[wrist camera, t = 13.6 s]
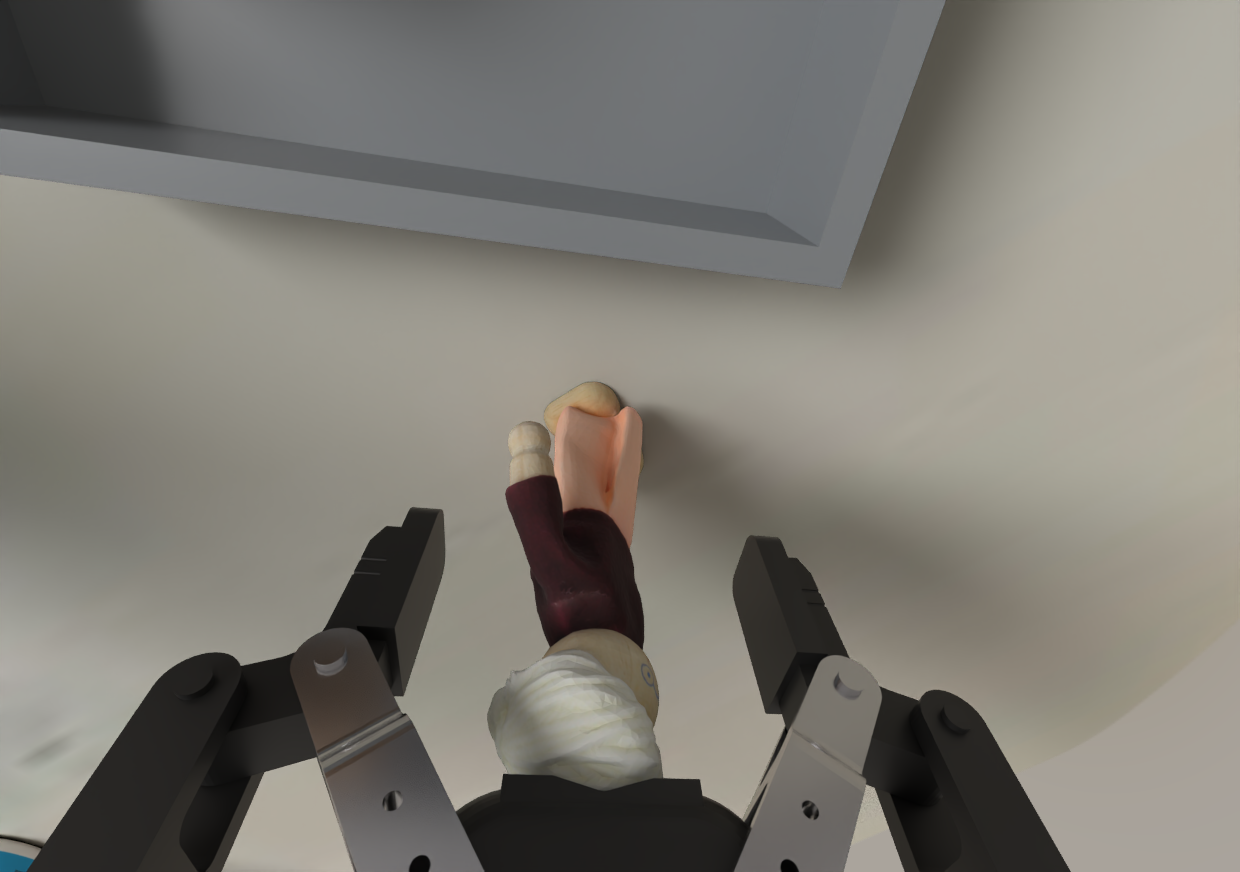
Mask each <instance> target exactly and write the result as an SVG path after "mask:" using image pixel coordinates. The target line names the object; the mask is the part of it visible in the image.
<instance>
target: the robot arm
mask: <svg viewBox="0 0 1240 872" xmlns="http://www.w3.org/2000/svg"><path fill="white" fill-rule="evenodd" d="M444 564H445V535H444V514H443V510H441V509H429V508H417V507H412V508H410V510H409V512H408V514H407V516H406V518H405V520H404V523H403V525H402V527H392V526H386V527H385V528H384V529H382V530H381V531H380V532H379V533H378V534H377V535H376V536H374V537H373V538H372V539H371V540H370V541H369V543H368V545H367V547H366V549H365V551H364V553H363V555H362V557H361V560H360V561H359V563H358V565H357V567H356V569H355V571H354V574H352V576H351V578H350V580H349V582H348V584H347V586H346V588H345V590H344V592H343V594H342V596H341V598H340V600H339V602H338V604H337V606H336V608H335V610H334V612H333V613H332V615H331V617H330V619H329V621H328V623H327V625H326V627H325V628H324V630H323V631H322V632H320V633H318V634H316V635H314V636H313V637H311V638H310V639H308V640H307V641H306V642H304V643H303V644H302V645H301V646H300V647H299V648H298V650H297V651H296V652H295V653H292V654H290V655H287V656H284V657H280V658H276V659H272V660H267V661H262V662H258V663H253V664H249V665H244V666H240V664H239V662H238V661H237V659H235V658H234V657H233V656H231V655H229V654H225V653H218V652H214V653H205V654H201V655H197V656H194V657H191V658H189V659H186V660H184V661H182V662H181V663H179V664H177V665H175V666H174V667H172V668H171V669H169V670H168V671H167V672H166V673H164V674H163V675H162V676H161V677H160V678H159V679H158V680H157V682H156V683H155V684H154V685H153V687H152V688H151V690H150V691H149V693H148V694H147V696H146V697H145V698H144V700H143V701H142V703H141V704H140V706H139V707H138V709H137V710H136V712H135V713H134V715H133V716H132V717H131V719H130V720H129V722H128V723H127V725H126V726H125V728H124V729H123V731H122V732H121V734H120V735H119V737H118V738H117V739H116V741H115V742H114V744H113V745H112V747H111V748H110V750H109V751H108V753H107V754H106V756H105V757H104V758H103V760H102V761H101V763H100V764H99V766H98V767H97V769H96V770H95V772H94V773H93V775H92V776H91V777H90V779H89V780H88V782H87V783H86V785H85V786H84V788H83V789H82V791H81V792H80V794H79V795H78V796H77V798H76V799H75V801H74V802H73V804H72V805H71V807H70V808H69V810H68V811H67V813H66V814H65V816H64V817H63V818H62V820H61V821H60V823H59V824H58V826H57V827H56V829H55V830H54V832H53V833H52V835H51V836H50V837H49V839H48V840H47V842H46V843H45V845H44V846H43V848H42V849H41V851H40V852H39V854H38V855H37V856H36V858H35V859H34V861H33V862H32V864H31V865H30V867H29V868H28V870H27V871H26V872H221V871H222V869H223V867H224V864H225V862H226V860H227V857H228V855H229V853H230V850H231V848H232V846H233V844H234V841H235V839H236V837H237V834H238V832H239V830H240V827H241V825H242V823H243V820H244V818H245V816H246V813H247V811H248V809H249V807H250V804H251V802H252V800H253V797H254V795H255V793H256V790H257V788H258V786H259V783H260V781H261V779H262V776H263V774H264V772H266V771H270V770H273V769H277V768H280V767H284V766H287V765H291V764H294V763H297V762H301V761H304V760H308V759H311V758H315V757H317V760H318V763H319V766H320V769H321V772H322V775H323V778H324V781H325V784H326V787H327V790H328V794H329V797H330V800H331V803H332V806H333V809H334V812H335V815H336V818H337V821H338V824H339V827H340V830H341V833H342V836H343V839H344V842H345V845H346V848H347V852H348V855H349V858H350V861H351V864H352V867H353V870H354V872H844V868H845V864H846V860H847V857H848V853H849V849H850V845H851V841H852V838H853V834H854V830H855V826H856V822H857V819H858V815H859V811H860V807H861V803H862V799H863V796H864V792H865V787H866V784H867V785H869V786H872V787H874V788H875V790H876V793H877V795H878V798H879V801H880V804H881V807H882V809H883V812H884V815H885V818H886V821H887V823H888V826H889V829H890V832H891V835H892V837H893V840H894V843H895V846H896V849H897V852H898V854H899V857H900V860H901V862H902V865H903V868H904V871H905V872H1071V871H1070V870H1069V868H1068V866H1067V864H1066V863H1065V861H1064V859H1063V857H1062V856H1061V854H1060V852H1059V851H1058V849H1057V847H1056V845H1055V844H1054V842H1053V840H1052V838H1051V837H1050V835H1049V833H1048V831H1047V830H1046V828H1045V826H1044V824H1043V823H1042V821H1041V819H1040V817H1039V816H1038V814H1037V812H1036V810H1035V809H1034V807H1033V805H1032V803H1031V802H1030V800H1029V798H1028V796H1027V795H1026V793H1025V791H1024V789H1023V788H1022V786H1021V784H1020V782H1019V781H1018V779H1017V777H1016V775H1015V774H1014V772H1013V770H1012V768H1011V767H1010V765H1009V763H1008V761H1007V760H1006V758H1005V756H1004V754H1003V753H1002V751H1001V749H1000V747H999V746H998V744H997V742H996V740H995V739H994V737H993V735H992V734H991V732H990V730H989V728H988V727H987V725H986V723H985V722H984V720H983V719H982V717H981V716H980V715H979V713H978V712H977V711H976V710H975V709H974V708H973V707H972V706H970V705H969V704H968V703H967V702H965V701H964V700H963V699H961V698H959V697H958V696H956V695H954V694H951V693H949V692H946V691H942V690H931V691H928V692H926V693H925V694H924V695H923V696H922V697H921V698H920V700H919V701H918V700H915V699H913V698H910V697H907V696H904V695H901V694H898V693H895V692H893V691H890V690H887V689H885V688H882V687H880V686H879V685H878V683H877V681H876V679H875V678H874V677H873V675H872V674H871V673H870V672H869V671H868V670H867V669H866V668H865V667H863V666H862V665H861V664H859V663H858V662H856V661H854V660H852V659H850V658H849V656H848V654H847V651H846V649H845V647H844V645H843V643H842V640H841V638H840V636H839V634H838V632H837V630H836V627H835V625H834V623H833V621H832V619H831V616H830V614H829V612H828V610H827V608H826V607H825V606H824V604H825V603H824V601H823V599H822V597H821V595H820V593H818V588H817V586H816V584H815V581H814V579H813V577H812V575H811V573H810V572H809V571H808V570H807V569H806V568H805V567H804V566H803V564H802V563H801V562H800V561H799V560H798V559H797V558H788V556H787V554H786V552H785V549H784V547H783V544H782V542H781V540H780V539H779V538H777V537H765V536H753V535H751V536H749V537H748V538H747V540H746V543H745V546H744V549H743V551H742V554H741V557H740V560H739V563H738V565H737V568H736V571H735V574H734V578H733V597H734V601H735V605H736V608H737V612H738V616H739V619H740V623H741V626H742V630H743V634H744V637H745V641H746V644H747V648H748V651H749V655H750V659H751V662H752V666H753V669H754V673H755V677H756V680H757V684H758V687H759V691H760V695H761V698H762V702H763V705H764V709H765V712H766V714H782V716H783V719H784V722H785V727H784V729H783V731H782V733H781V735H780V737H779V739H778V742H777V744H776V746H775V748H774V751H773V753H772V755H771V758H770V760H769V762H768V764H767V767H766V769H765V771H764V774H763V776H762V778H761V780H760V783H759V785H758V787H757V789H756V792H755V794H754V796H753V798H752V800H751V802H750V804H749V806H748V808H747V810H746V812H745V814H744V817H743V819H741V818H739V817H738V816H737V815H736V814H734V813H733V812H732V811H731V810H729V809H728V808H726V807H725V806H723V805H721V804H720V803H718V802H716V801H714V800H712V799H710V798H707V797H704V796H702V790H701V783H700V779H667V778H652V779H648V780H644V781H641V782H637V783H633V784H630V785H626V786H622V787H619V788H615V789H611V790H607V791H601V790H597V789H594V788H591V787H588V786H585V785H582V784H579V783H575V782H572V781H569V780H566V779H563V778H560V777H557V776H554V775H525V774H503V779H502V786H501V790H497V791H493V792H490V793H488V794H485V795H483V796H480V797H478V798H476V799H474V800H473V801H471V802H469V803H467V804H466V805H464V806H463V807H462V808H460V809H459V810H457V811H456V812H455V810H454V808H453V805H452V803H451V801H450V799H449V797H448V795H447V793H446V791H445V789H444V787H443V785H442V783H441V781H440V778H439V776H438V774H437V772H436V770H435V768H434V766H433V764H432V762H431V760H430V758H429V756H428V754H427V752H426V749H425V747H424V745H423V743H422V741H421V739H420V737H419V735H418V733H417V731H416V729H415V727H414V725H413V723H412V721H411V719H410V718H409V716H408V715H407V714H406V713H405V714H403V713H402V712H401V710H400V708H399V706H398V704H397V702H396V700H395V698H394V696H404V693H405V690H406V687H407V684H408V681H409V678H410V675H411V672H412V668H413V665H414V662H415V659H416V656H417V653H418V650H419V647H420V644H421V641H422V637H423V634H424V631H425V628H426V625H427V622H428V619H429V616H430V613H431V610H432V606H433V603H434V600H435V597H436V594H437V591H438V588H439V585H440V582H441V578H442V575H443V570H444Z"/></svg>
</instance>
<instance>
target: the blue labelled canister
mask: <svg viewBox="0 0 1240 872" xmlns="http://www.w3.org/2000/svg"><path fill="white" fill-rule="evenodd" d="M40 851H41V848H38V847H36V846H33V845H29V844H26V843H22V842H18V841H13V840H8V839H2V838H0V872H26V871H27V870H28V868H29V867H30V865H31V864H32V862H33V861H34V859H35V858H36V856H37V855H38V854H39V852H40Z"/></svg>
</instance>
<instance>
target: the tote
mask: <svg viewBox="0 0 1240 872" xmlns="http://www.w3.org/2000/svg"><path fill="white" fill-rule="evenodd" d="M945 1H946V0H0V175H8V176H15V177H22V178H30V179H37V180H44V181H52V182H59V183H67V184H74V185H81V186H89V187H96V188H103V189H111V190H118V191H125V192H133V193H140V194H148V195H155V196H162V197H170V198H177V199H184V200H192V201H199V202H207V203H214V204H221V205H229V206H236V207H243V208H251V209H258V210H265V211H273V212H280V213H288V214H295V215H302V216H310V217H317V218H324V219H332V220H339V221H347V222H354V223H361V224H369V225H376V226H383V227H391V228H398V229H405V230H413V231H420V232H428V233H435V234H442V235H450V236H457V237H464V238H472V239H479V240H487V241H494V242H501V243H509V244H516V245H523V246H531V247H538V248H546V249H553V250H560V251H568V252H575V253H582V254H590V255H597V256H604V257H612V258H619V259H627V260H634V261H641V262H649V263H656V264H663V265H671V266H678V267H686V268H693V269H700V270H708V271H715V272H722V273H730V274H737V275H744V276H752V277H759V278H767V279H774V280H781V281H789V282H796V283H803V284H811V285H818V286H826V287H833V288H840V289H841V286H842V283H843V280H844V278H845V275H846V272H847V270H848V267H849V264H850V261H851V259H852V256H853V253H854V250H855V248H856V245H857V242H858V239H859V237H860V234H861V231H862V228H863V226H864V223H865V220H866V218H867V215H868V212H869V209H870V207H871V204H872V201H873V198H874V196H875V193H876V190H877V187H878V185H879V182H880V179H881V176H882V174H883V171H884V168H885V166H886V163H887V160H888V157H889V155H890V152H891V149H892V146H893V144H894V141H895V138H896V135H897V133H898V130H899V127H900V125H901V122H902V119H903V116H904V114H905V111H906V108H907V105H908V103H909V100H910V97H911V94H912V92H913V89H914V86H915V83H916V81H917V78H918V75H919V73H920V70H921V67H922V64H923V62H924V59H925V56H926V53H927V51H928V48H929V45H930V42H931V40H932V37H933V34H934V31H935V29H936V26H937V23H938V21H939V18H940V15H941V12H942V10H943V7H944V4H945Z"/></svg>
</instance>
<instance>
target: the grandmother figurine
mask: <svg viewBox="0 0 1240 872" xmlns="http://www.w3.org/2000/svg"><path fill="white" fill-rule="evenodd" d="M544 420H545V423H546V425H547V427H548V429H549V430H550V432H551V433H552V434H553V435H554V436H555V460H554V467H553V463H552V460H551V458H550V457H549V455H548V454H549V451H550V446H551V440H550V435H549V433H548V430H547V429H546V428H545V427H544V426H542V425H541V424H540V423H536V422H531V421H528V422H522V423H520V424H518V425H517V426H515V427H514V428H513V429H512V431H511V432H510V434H509V438H508V445H509V450H510V453H511V455H512V457H513V459H512V461H511V463H510V486H509V487H508V488H507V490H506V493H505V495H506V500H507V504H508V508H509V510H510V512H511V515H512V517H513V520H514V523H515V526H516V528H517V531H518V533H519V536H520V538H521V541H522V544H523V547H524V551H525V554H526V557H527V560H528V562H529V565H530V567H531V569H530V575H531V579H532V581H533V585H534V591H535V600H536V606H537V612H538V614H539V617H540V621H541V624H542V628H543V631H544V634H545V637H546V639H547V641H548V643H549V646H550V648H549V650H548V651H547V652H546V654H545V655H544V657H543V658H542V659H541V660H539V661H537V662H536V663H534V664H533V665H531V666H530V667H528V668H526V669H525V670H522V671H514V670H512V671H511V675H510V677H509V678H508V679H507V682H506V686H505V687H503V688H501V689H499V690H498V691H497V692H496V693H495V695H494V697H493V699H492V702H491V705H490V708H489V711H488V713H487V720H488V726H489V731H490V733H491V736H492V738H493V739H494V741H495V745H496V749H497V754H498V756H499V757H500V759H501V761H502V762H503V764H504V766H505V767H506V769H507V772H508V774H525V775H554V776H557V777H560V778H563V779H566V780H569V781H572V782H575V783H579V784H582V785H585V786H588V787H591V788H594V789H597V790H601V791H607V790H611V789H615V788H619V787H622V786H626V785H630V784H633V783H637V782H641V781H644V780H648V779H652V778H663V772H662V763H661V756H660V751H659V748H658V746H657V744H656V742H655V735H654V732H653V728H654V725H655V721H656V718H657V713H658V706H659V691H658V685H657V680H656V676H655V673H654V671H653V668H652V665H651V663H650V661H649V659H648V658H647V656H646V655H645V653H644V652H643V651H642V650H643V643H644V615H643V608H642V602H641V597H640V594H639V592H638V589H637V585H636V583H635V578H634V566H633V561H632V556H631V552H630V545H631V542H632V536H633V526H634V516H635V508H636V498H637V487H638V479H639V475H640V473H641V471H642V468H643V464H644V461H643V453H642V451H641V447H642V420H641V418H640V416H639V414H638V413H637V411H636V410H635V409H634V408H632V407H627V406H626V407H625V408H624V409H622V410H621V411H620V404H619V401H618V399H617V397H616V395H615V393H614V392H613V391H612V390H611V389H610V388H609V387H608V386H606V385H604V384H602V383H599V382H587V383H583V384H581V385H579V386H577V387H576V388H574V389H572V390H571V391H569V392H568V393H566V394H565V395H563V396H561V397H559V398H558V399H556V400H555V401H553V402H552V403H550V404H549V405H548V406H547V408H546V410H545V412H544Z"/></svg>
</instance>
